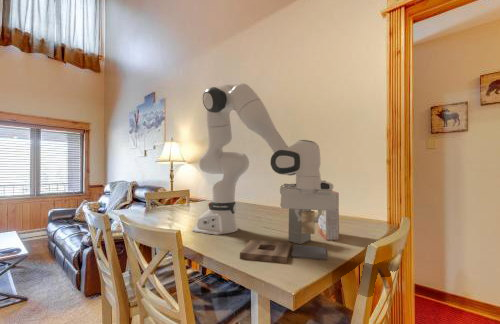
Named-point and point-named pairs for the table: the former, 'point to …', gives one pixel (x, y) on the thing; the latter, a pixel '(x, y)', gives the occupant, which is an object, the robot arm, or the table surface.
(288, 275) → the table surface
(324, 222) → the cracker box
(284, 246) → the pocket plate
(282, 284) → the table surface
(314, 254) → the rubber mat
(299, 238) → the skincare box
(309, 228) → the maple block
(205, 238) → the table surface
